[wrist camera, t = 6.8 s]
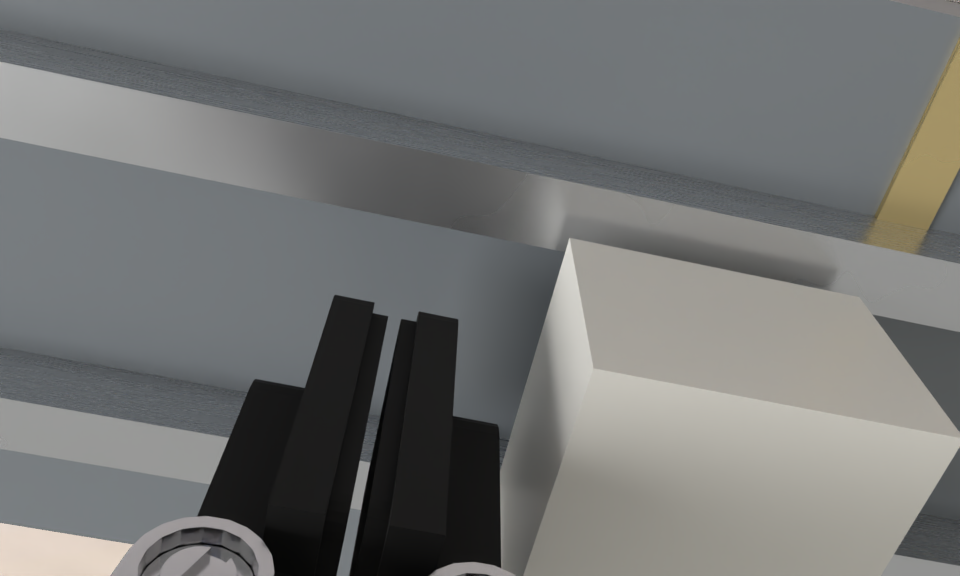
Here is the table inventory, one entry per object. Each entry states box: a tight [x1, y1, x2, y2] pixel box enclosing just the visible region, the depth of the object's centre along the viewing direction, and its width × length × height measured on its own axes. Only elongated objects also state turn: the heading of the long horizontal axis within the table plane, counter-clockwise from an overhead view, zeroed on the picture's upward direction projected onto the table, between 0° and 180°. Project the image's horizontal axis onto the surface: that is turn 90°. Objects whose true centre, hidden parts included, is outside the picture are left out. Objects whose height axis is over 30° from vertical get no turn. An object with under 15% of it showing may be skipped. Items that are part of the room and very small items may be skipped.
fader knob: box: [500, 238, 960, 576], centre depth 12 cm, size 5×4×4 cm
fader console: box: [0, 0, 960, 576], centre depth 14 cm, size 12×26×3 cm, turn 78°
